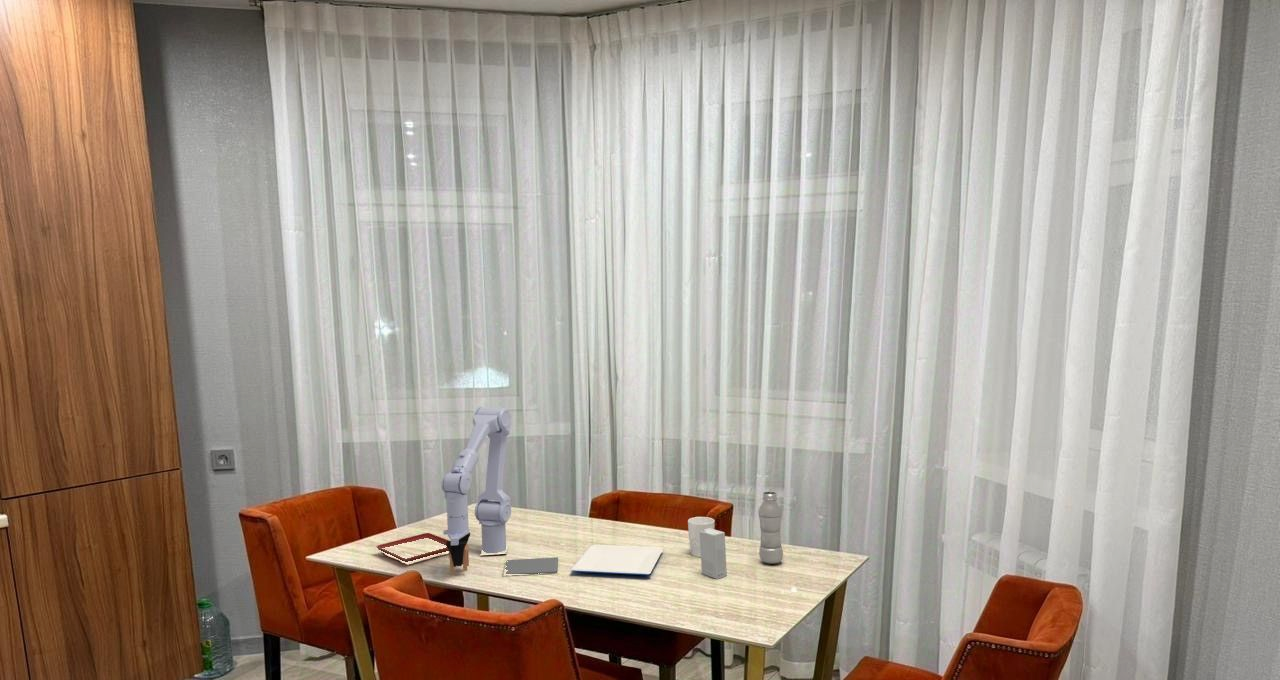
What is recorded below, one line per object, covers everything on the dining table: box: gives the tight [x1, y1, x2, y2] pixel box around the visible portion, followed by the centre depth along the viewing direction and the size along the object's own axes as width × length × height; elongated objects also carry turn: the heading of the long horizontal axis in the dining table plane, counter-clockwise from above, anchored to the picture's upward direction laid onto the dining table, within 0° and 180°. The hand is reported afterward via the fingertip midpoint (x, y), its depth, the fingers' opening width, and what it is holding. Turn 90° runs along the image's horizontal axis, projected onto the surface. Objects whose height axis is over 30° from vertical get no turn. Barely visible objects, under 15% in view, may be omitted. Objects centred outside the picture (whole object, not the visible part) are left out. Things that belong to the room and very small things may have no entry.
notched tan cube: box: [448, 543, 470, 572], centre depth 211 cm, size 5×5×6 cm
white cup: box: [687, 516, 715, 558], centre depth 222 cm, size 8×8×10 cm
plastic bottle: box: [757, 491, 784, 565], centre depth 213 cm, size 6×7×20 cm
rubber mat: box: [504, 556, 559, 575], centre depth 214 cm, size 12×15×1 cm
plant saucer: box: [376, 532, 450, 562], centre depth 228 cm, size 18×18×3 cm
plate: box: [570, 544, 665, 576], centre depth 215 cm, size 22×22×2 cm
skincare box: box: [700, 528, 728, 580], centre depth 204 cm, size 6×4×12 cm
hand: (459, 562), depth 211 cm, fingers closed on notched tan cube, 5 cm apart
